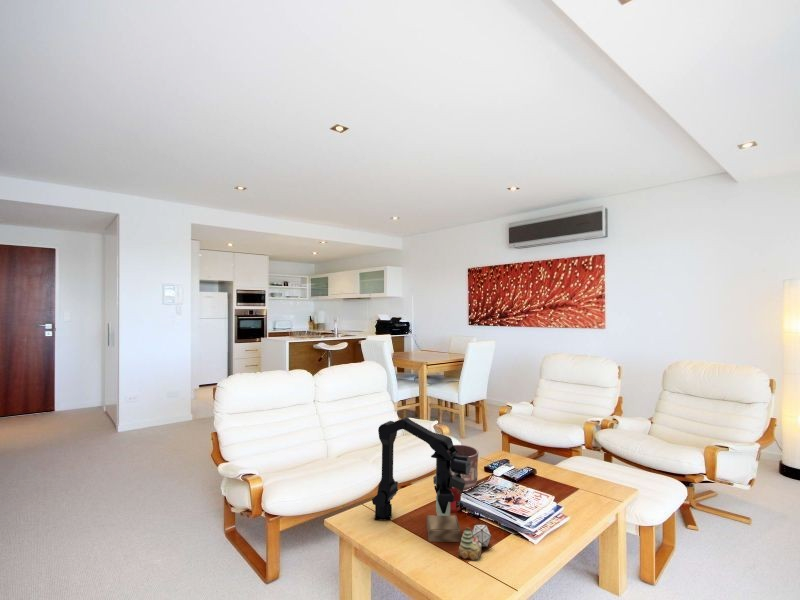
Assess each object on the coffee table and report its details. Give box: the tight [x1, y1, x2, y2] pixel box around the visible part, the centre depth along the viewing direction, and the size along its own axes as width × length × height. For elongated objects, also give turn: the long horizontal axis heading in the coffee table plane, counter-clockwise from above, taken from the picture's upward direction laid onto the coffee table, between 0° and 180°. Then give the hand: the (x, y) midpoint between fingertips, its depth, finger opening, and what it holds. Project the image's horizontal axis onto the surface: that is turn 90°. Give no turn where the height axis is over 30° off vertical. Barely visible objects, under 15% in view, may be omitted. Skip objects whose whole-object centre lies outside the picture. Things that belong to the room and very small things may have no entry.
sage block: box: [435, 497, 451, 516], centre depth 169 cm, size 5×5×5 cm
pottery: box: [448, 444, 479, 490], centre depth 212 cm, size 18×18×18 cm
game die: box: [471, 522, 494, 549], centre depth 160 cm, size 9×8×10 cm
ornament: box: [458, 526, 482, 561], centre depth 154 cm, size 8×6×10 cm
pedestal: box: [426, 514, 462, 543], centre depth 169 cm, size 12×12×4 cm
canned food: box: [449, 487, 462, 513], centre depth 190 cm, size 8×8×11 cm
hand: (443, 510), depth 169 cm, fingers closed on sage block, 5 cm apart
